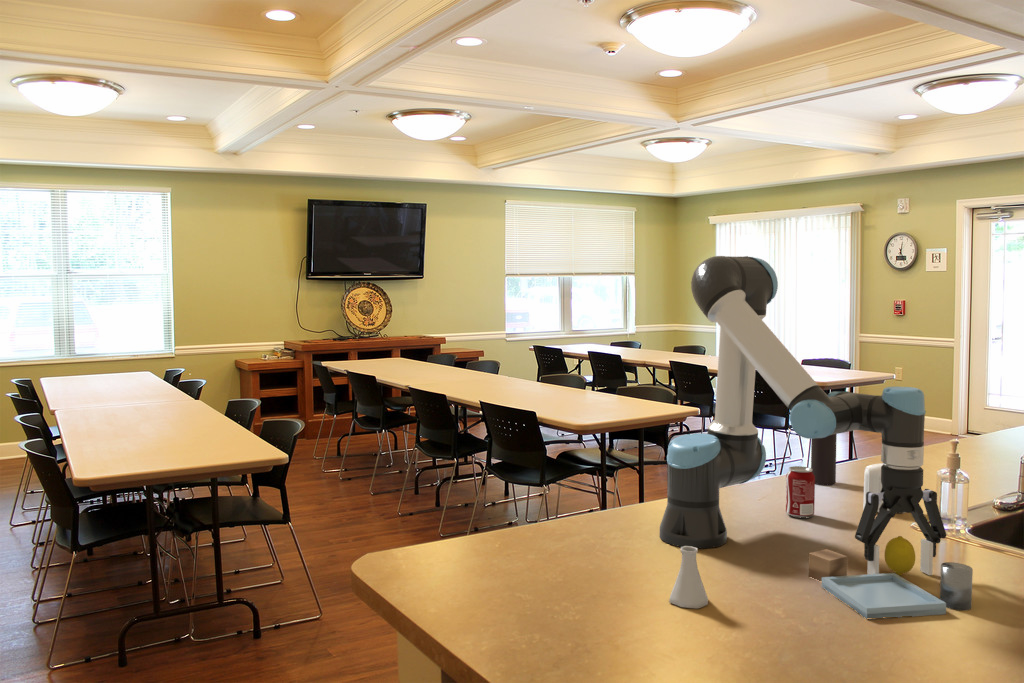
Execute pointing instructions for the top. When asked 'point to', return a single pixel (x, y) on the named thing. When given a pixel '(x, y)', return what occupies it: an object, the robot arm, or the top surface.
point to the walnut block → (827, 564)
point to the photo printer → (872, 481)
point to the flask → (689, 582)
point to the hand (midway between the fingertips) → (899, 574)
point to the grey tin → (956, 585)
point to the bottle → (824, 459)
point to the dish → (883, 595)
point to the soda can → (800, 492)
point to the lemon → (899, 555)
